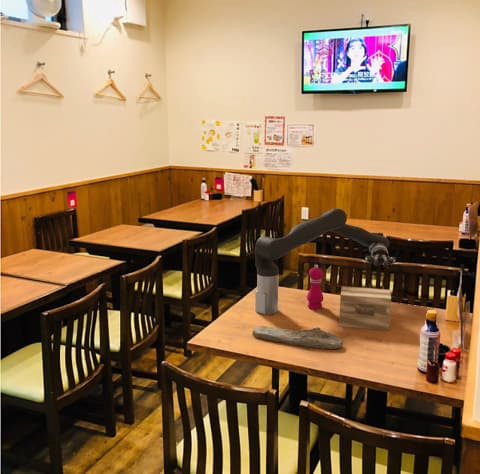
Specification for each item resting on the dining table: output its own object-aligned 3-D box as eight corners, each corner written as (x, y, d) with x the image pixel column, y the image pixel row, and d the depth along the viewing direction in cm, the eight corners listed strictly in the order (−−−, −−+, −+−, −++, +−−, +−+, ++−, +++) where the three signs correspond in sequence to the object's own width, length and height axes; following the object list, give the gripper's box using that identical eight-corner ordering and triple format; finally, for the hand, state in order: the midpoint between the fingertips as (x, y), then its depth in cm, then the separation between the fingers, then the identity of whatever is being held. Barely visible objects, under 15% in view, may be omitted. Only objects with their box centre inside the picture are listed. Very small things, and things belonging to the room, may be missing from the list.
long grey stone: (257, 332, 206) (249, 344, 197) (256, 320, 204) (248, 331, 195) (344, 341, 194) (340, 353, 185) (344, 328, 192) (340, 340, 183)
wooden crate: (340, 315, 218) (341, 286, 215) (387, 320, 214) (389, 289, 211) (339, 326, 208) (340, 294, 205) (388, 330, 203) (391, 298, 200)
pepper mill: (304, 308, 227) (305, 265, 222) (310, 303, 233) (311, 261, 228) (319, 311, 224) (321, 267, 219) (325, 305, 230) (326, 263, 225)
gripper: (364, 245, 240) (364, 255, 223) (395, 247, 237) (398, 257, 220) (364, 261, 242) (363, 271, 225) (394, 263, 238) (396, 274, 222)
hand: (380, 264), depth 223 cm, fingers open, 3 cm apart
